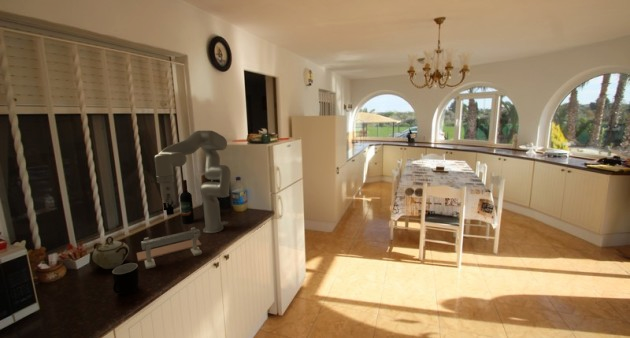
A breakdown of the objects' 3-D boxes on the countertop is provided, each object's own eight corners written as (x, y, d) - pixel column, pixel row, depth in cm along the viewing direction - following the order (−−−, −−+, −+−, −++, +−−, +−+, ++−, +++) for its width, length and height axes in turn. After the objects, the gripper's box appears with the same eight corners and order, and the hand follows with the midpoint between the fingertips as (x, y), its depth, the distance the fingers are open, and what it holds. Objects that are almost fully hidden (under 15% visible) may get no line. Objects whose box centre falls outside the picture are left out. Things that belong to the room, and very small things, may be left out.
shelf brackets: (198, 248, 161) (196, 226, 158) (202, 253, 154) (200, 230, 152) (144, 262, 146) (141, 238, 144) (146, 269, 139) (143, 243, 137)
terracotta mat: (197, 239, 173) (197, 238, 172) (201, 245, 164) (201, 244, 164) (136, 254, 155) (136, 253, 155) (138, 261, 147) (138, 260, 147)
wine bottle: (196, 221, 204) (192, 179, 199) (187, 224, 197) (183, 181, 192) (188, 219, 207) (184, 178, 202) (179, 223, 200) (175, 181, 195)
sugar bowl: (141, 259, 149) (138, 231, 147) (116, 274, 135) (112, 244, 132) (110, 256, 153) (106, 229, 151) (82, 270, 139) (77, 241, 136)
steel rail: (199, 234, 157) (198, 228, 157) (200, 236, 155) (200, 230, 154) (141, 247, 142) (140, 241, 142) (142, 250, 140) (141, 243, 139)
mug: (124, 284, 127) (121, 263, 125) (145, 284, 127) (142, 262, 125) (105, 301, 115) (101, 278, 113) (127, 301, 115) (124, 278, 113)
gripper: (176, 180, 138) (180, 215, 141) (170, 175, 152) (173, 206, 155) (159, 182, 134) (162, 218, 137) (154, 177, 148) (158, 209, 151)
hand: (168, 212), depth 146 cm, fingers open, 9 cm apart
